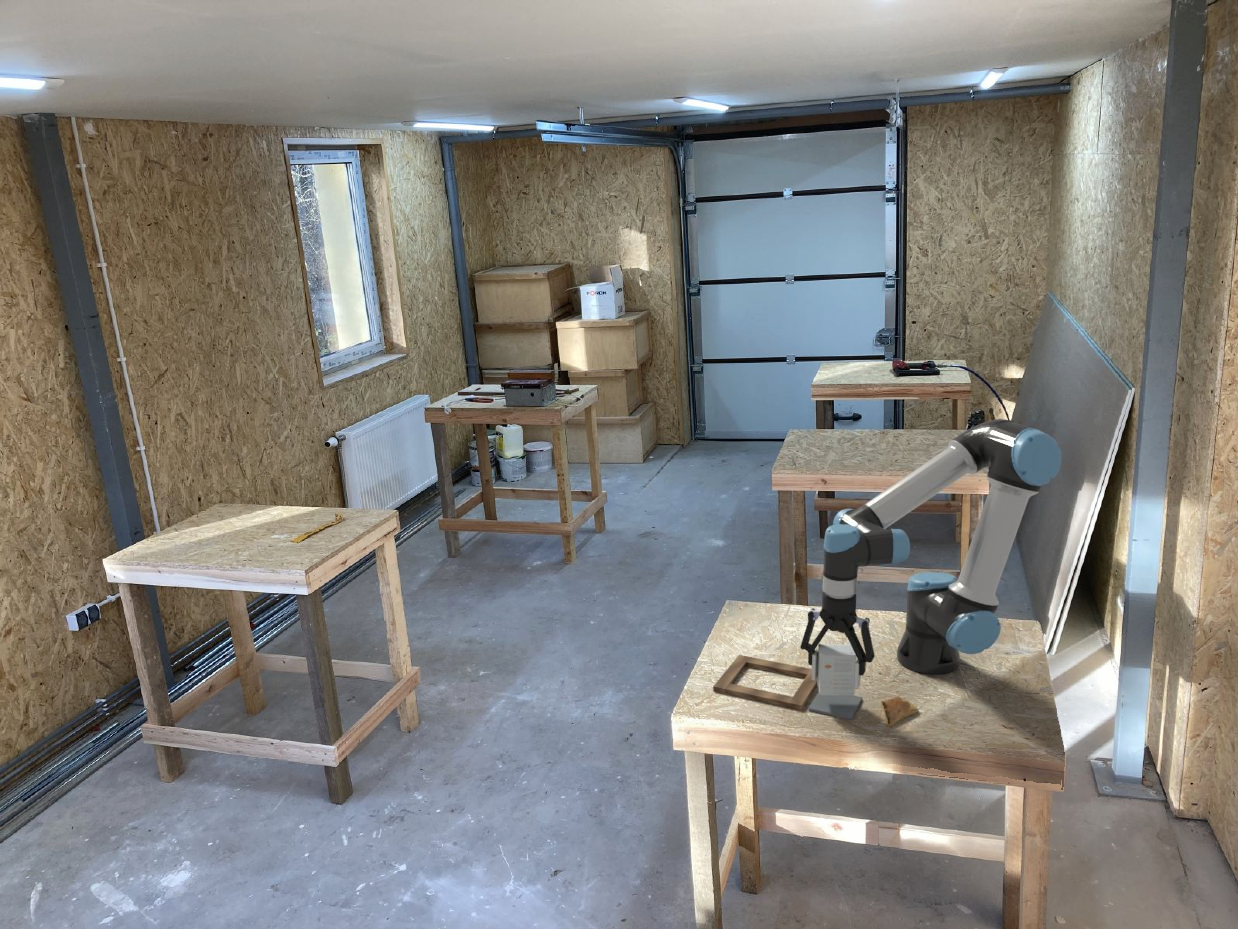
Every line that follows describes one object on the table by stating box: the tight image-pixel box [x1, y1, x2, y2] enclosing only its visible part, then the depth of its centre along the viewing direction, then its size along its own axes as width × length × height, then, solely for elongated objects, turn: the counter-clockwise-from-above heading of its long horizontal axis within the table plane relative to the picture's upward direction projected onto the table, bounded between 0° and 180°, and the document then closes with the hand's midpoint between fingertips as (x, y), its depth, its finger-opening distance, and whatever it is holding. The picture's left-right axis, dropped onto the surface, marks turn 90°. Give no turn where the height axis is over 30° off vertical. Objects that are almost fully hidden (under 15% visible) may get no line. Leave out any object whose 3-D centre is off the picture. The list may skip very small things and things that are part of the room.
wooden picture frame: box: [712, 654, 818, 711], centre depth 232 cm, size 22×18×1 cm
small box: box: [817, 643, 857, 696], centre depth 218 cm, size 8×6×10 cm
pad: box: [808, 691, 863, 721], centre depth 221 cm, size 10×10×1 cm
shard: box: [880, 695, 919, 728], centre depth 217 cm, size 11×8×2 cm
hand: (835, 682), depth 219 cm, fingers closed on small box, 9 cm apart
